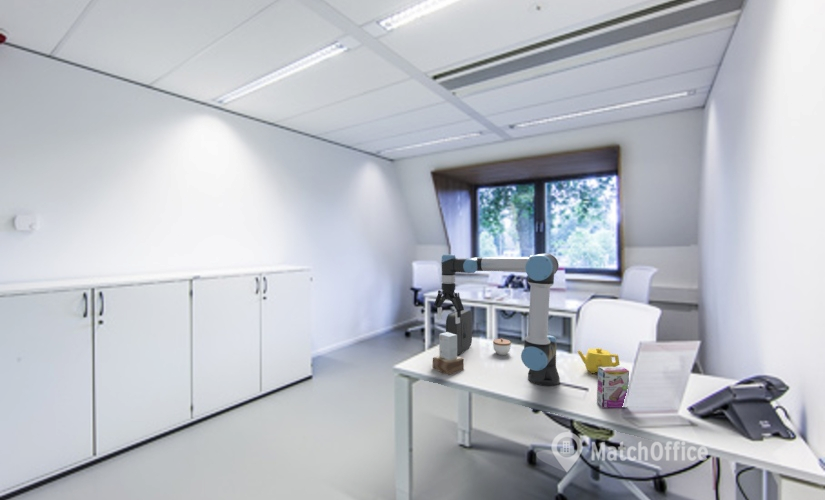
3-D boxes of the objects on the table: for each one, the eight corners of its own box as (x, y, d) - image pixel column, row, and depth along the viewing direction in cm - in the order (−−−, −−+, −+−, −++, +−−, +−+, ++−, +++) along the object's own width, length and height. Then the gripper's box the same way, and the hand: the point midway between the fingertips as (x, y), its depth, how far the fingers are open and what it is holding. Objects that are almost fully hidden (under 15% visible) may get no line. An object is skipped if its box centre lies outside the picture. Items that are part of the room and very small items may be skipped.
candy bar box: (603, 409, 147) (603, 370, 147) (596, 403, 152) (596, 366, 152) (628, 408, 148) (629, 370, 147) (621, 403, 153) (622, 366, 152)
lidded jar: (512, 352, 220) (512, 337, 220) (507, 357, 211) (507, 342, 211) (496, 349, 226) (496, 335, 225) (490, 354, 217) (490, 339, 216)
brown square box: (463, 369, 192) (463, 357, 192) (448, 375, 185) (448, 363, 184) (447, 363, 201) (447, 352, 201) (432, 368, 194) (432, 357, 193)
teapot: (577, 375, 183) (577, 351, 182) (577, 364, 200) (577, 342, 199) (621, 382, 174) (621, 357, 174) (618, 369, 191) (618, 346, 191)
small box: (457, 358, 192) (457, 334, 191) (449, 360, 188) (449, 336, 187) (447, 354, 198) (447, 331, 197) (438, 356, 194) (438, 333, 193)
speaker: (462, 344, 237) (462, 307, 236) (474, 346, 233) (474, 309, 232) (445, 355, 216) (445, 315, 215) (458, 357, 211) (458, 316, 210)
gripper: (470, 284, 184) (470, 324, 185) (437, 280, 203) (437, 316, 204) (461, 285, 179) (461, 326, 180) (427, 281, 198) (428, 318, 199)
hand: (448, 321), depth 192 cm, fingers open, 13 cm apart
